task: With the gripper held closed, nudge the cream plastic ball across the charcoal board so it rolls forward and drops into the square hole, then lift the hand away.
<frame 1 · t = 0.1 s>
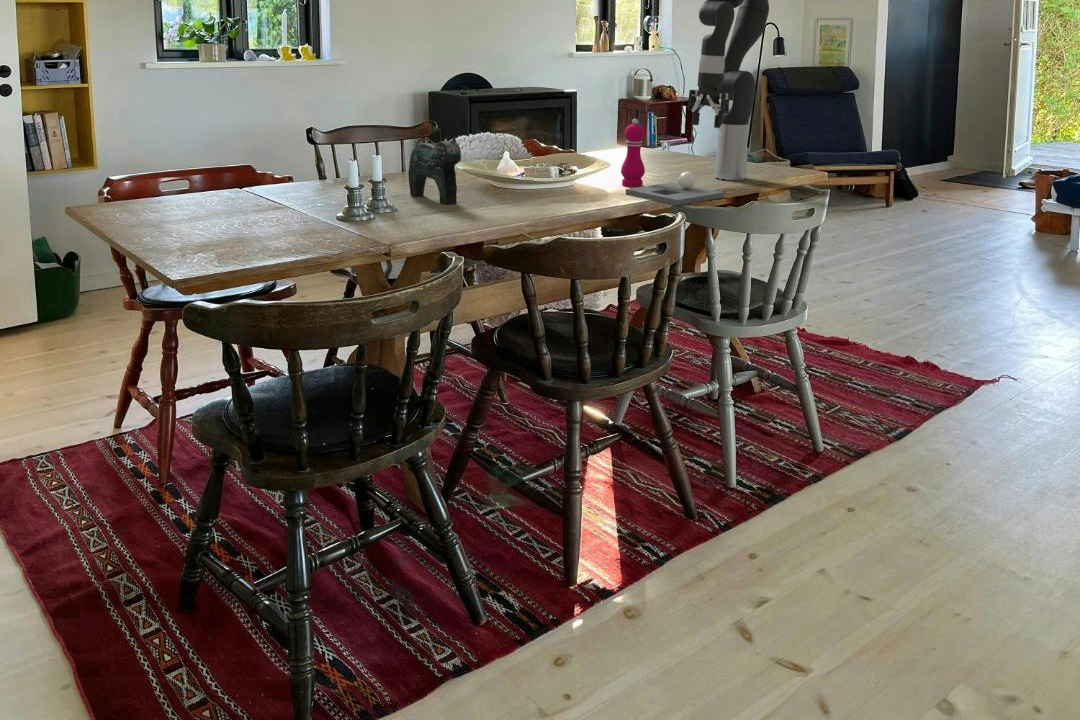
hand: (706, 126, 323), 17 cm above the table, tool pointing down, fingers open, 8 cm apart
ball: (686, 180, 309), point 4 cm above the table, touching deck
pepper mill: (632, 186, 322), on the table
ceramic cat: (432, 200, 295), on the table
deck: (674, 195, 307), on the table
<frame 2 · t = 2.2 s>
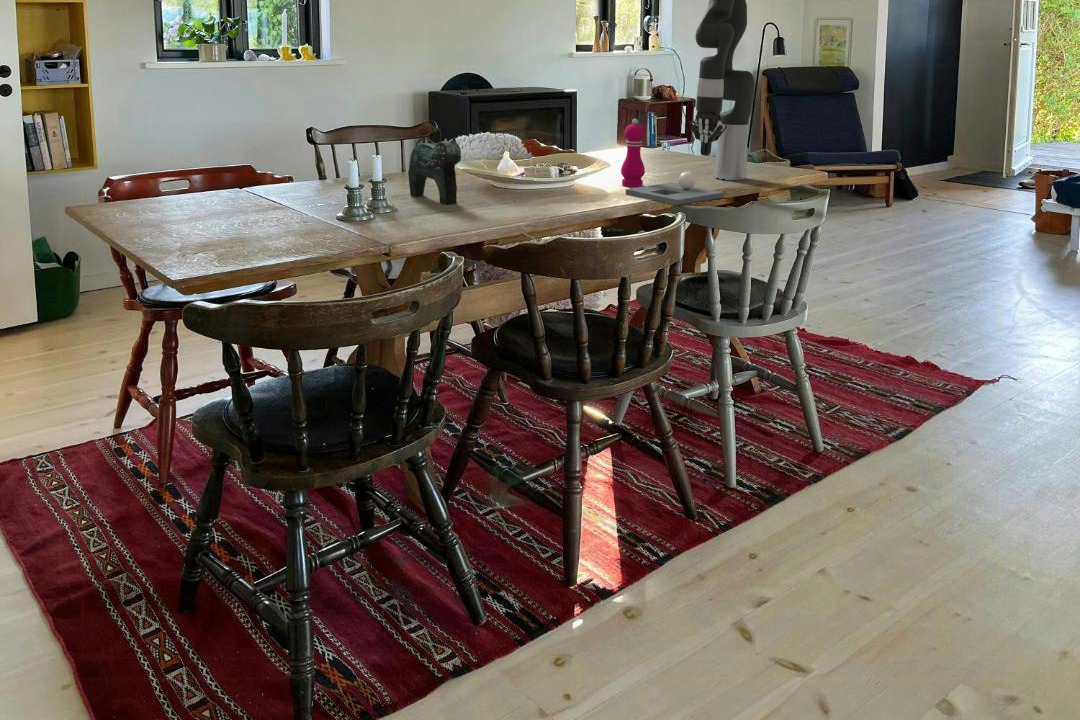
hand: (705, 155, 311), 11 cm above the table, tool pointing down, fingers closed
nothing on the table moved.
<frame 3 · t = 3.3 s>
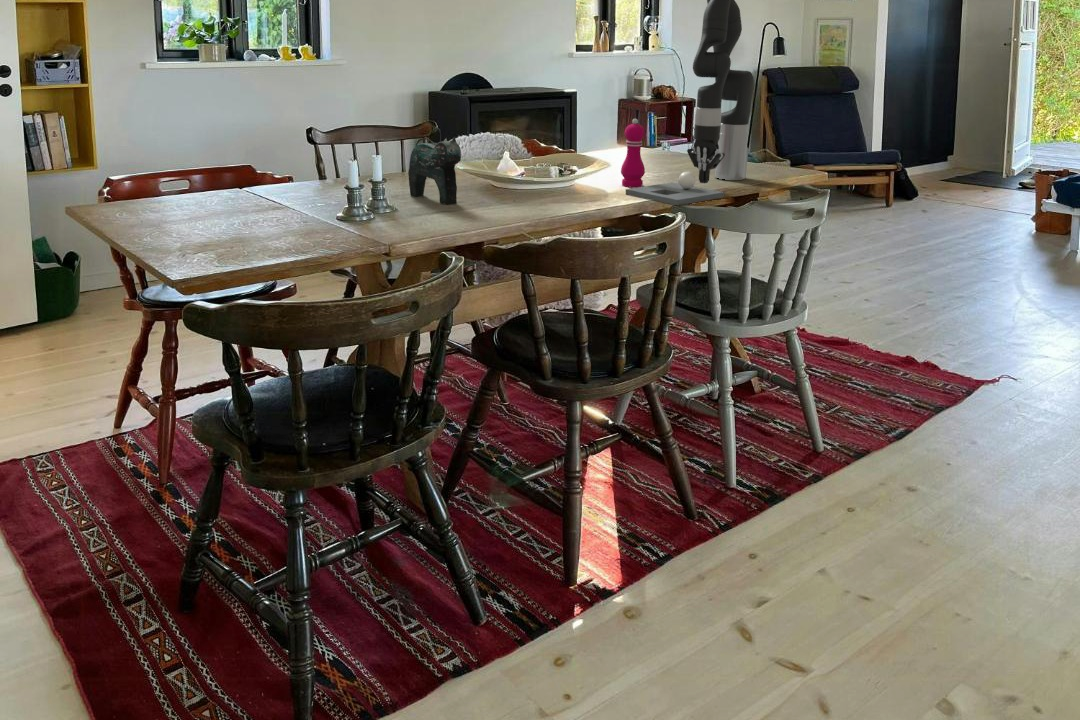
hand: (703, 182, 314), 3 cm above the table, tool pointing down, fingers closed
nothing on the table moved.
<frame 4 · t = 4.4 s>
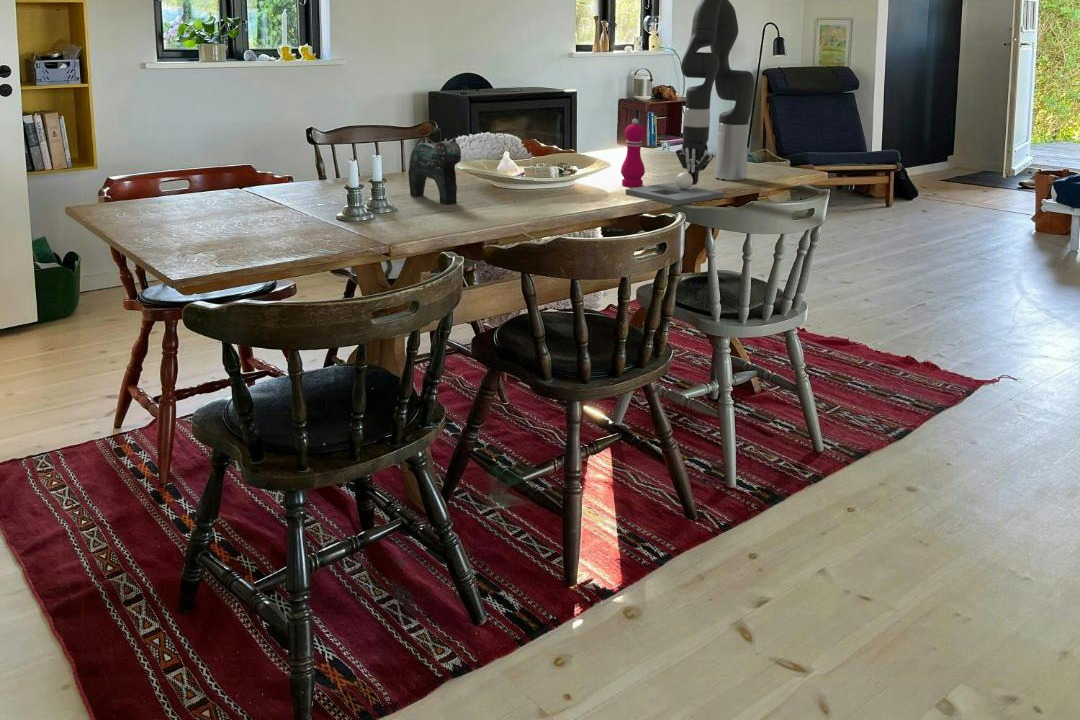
hand: (692, 184, 311), 3 cm above the table, tool pointing down, fingers closed
ball: (684, 180, 308), point 4 cm above the table, tilted 24°, touching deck, gripper
everything else where it was.
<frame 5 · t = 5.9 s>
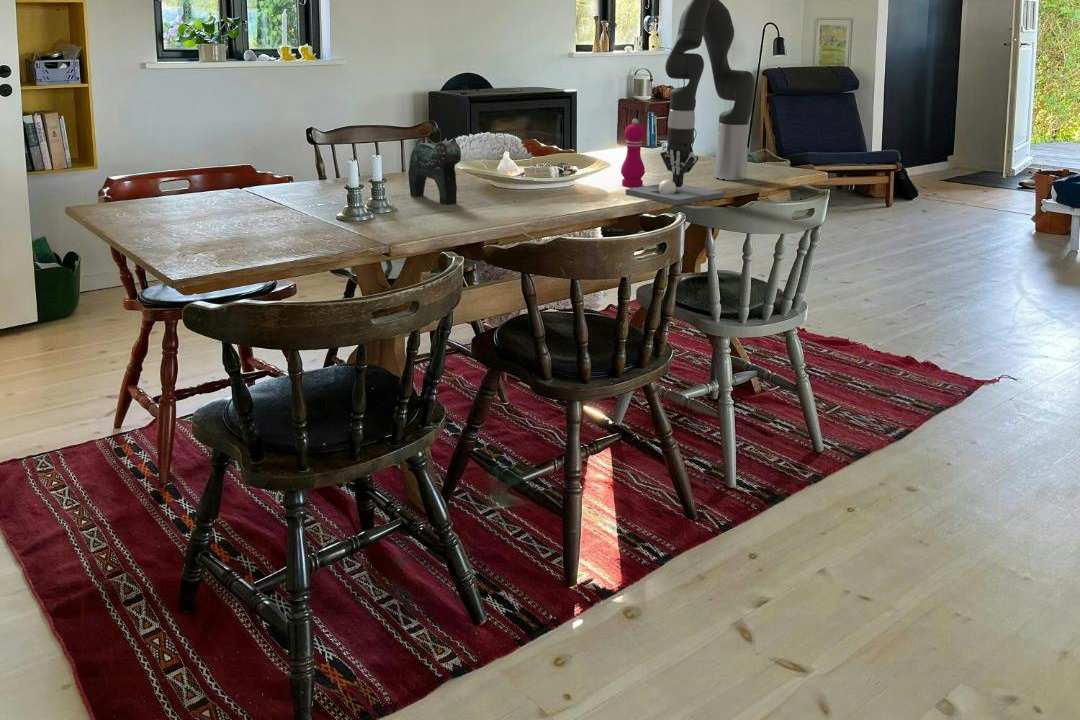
hand: (677, 186, 307), 3 cm above the table, tool pointing down, fingers closed
ball: (667, 188, 304), point 2 cm above the table, tilted 172°
everything else where it was.
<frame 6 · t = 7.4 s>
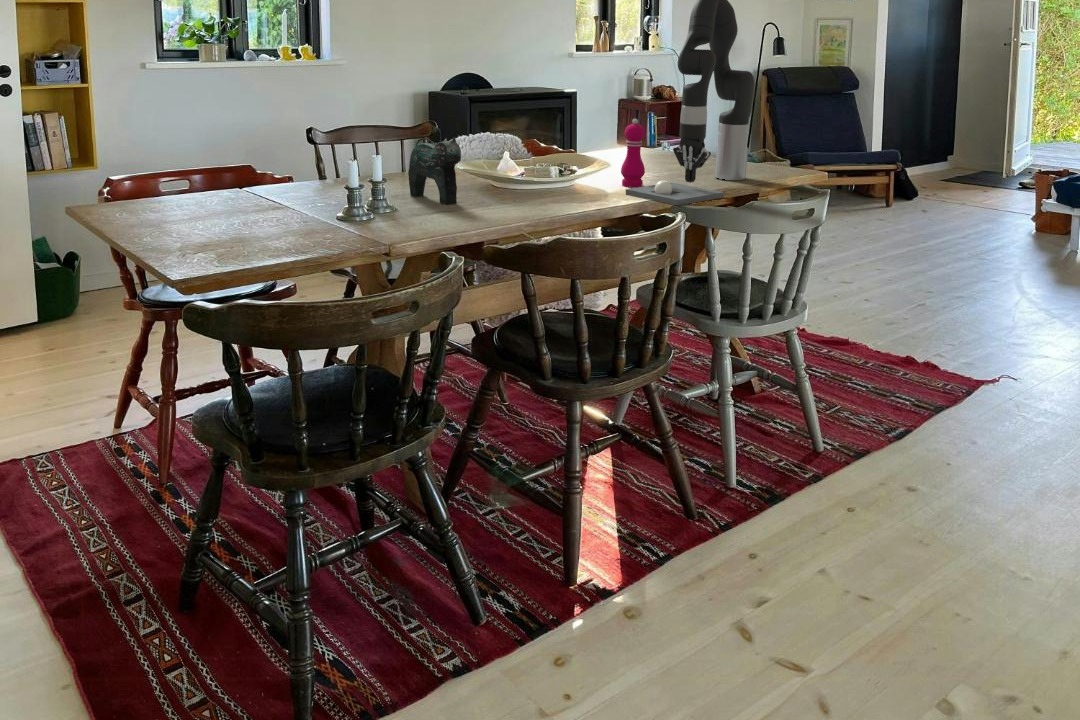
hand: (689, 181, 310), 3 cm above the table, tool pointing down, fingers closed
ball: (663, 189, 303), point 2 cm above the table, tilted 148°
everything else where it was.
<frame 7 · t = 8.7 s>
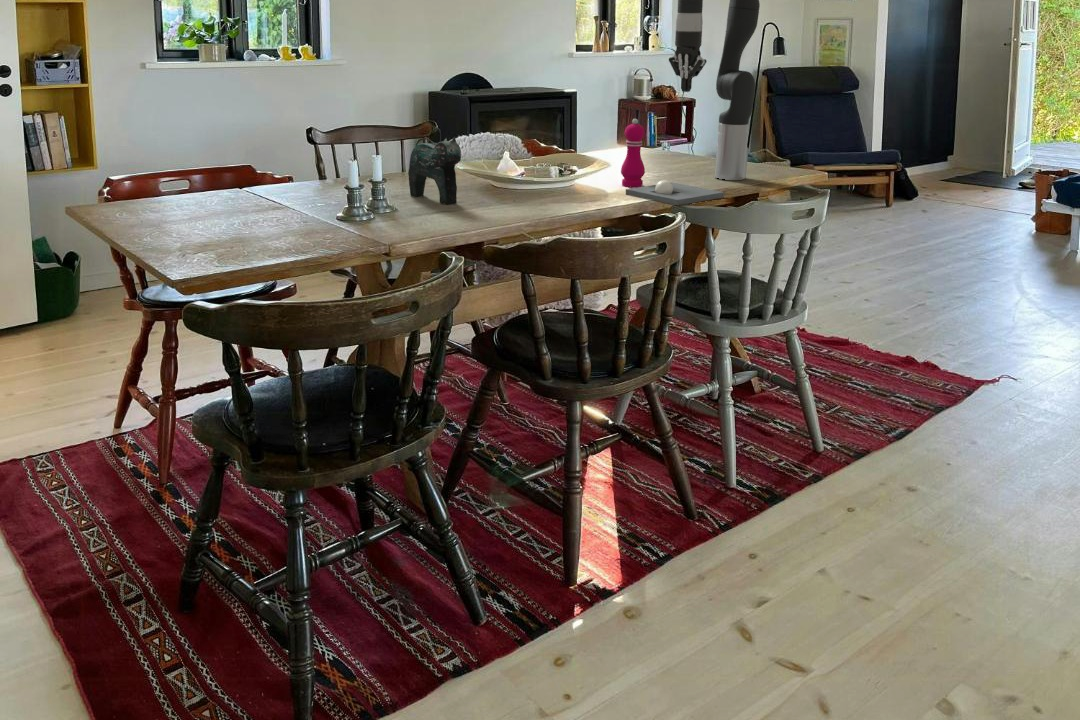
hand: (685, 91, 310), 28 cm above the table, tool pointing down, fingers closed
ball: (664, 188, 303), point 2 cm above the table, tilted 154°
everything else where it was.
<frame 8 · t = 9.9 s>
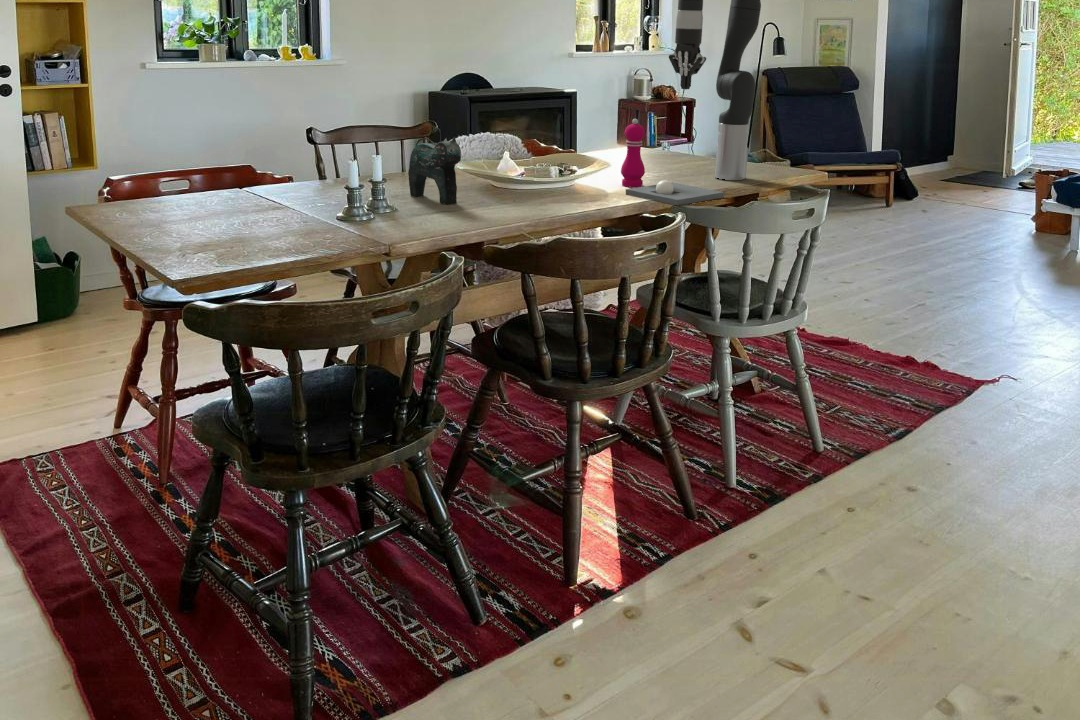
hand: (685, 89, 310), 29 cm above the table, tool pointing down, fingers closed
ball: (664, 188, 303), point 2 cm above the table, tilted 160°
everything else where it was.
at the end: ball 0.1 cm from the target spot on the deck, point 2.5 cm above the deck's base; ball touching table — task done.
